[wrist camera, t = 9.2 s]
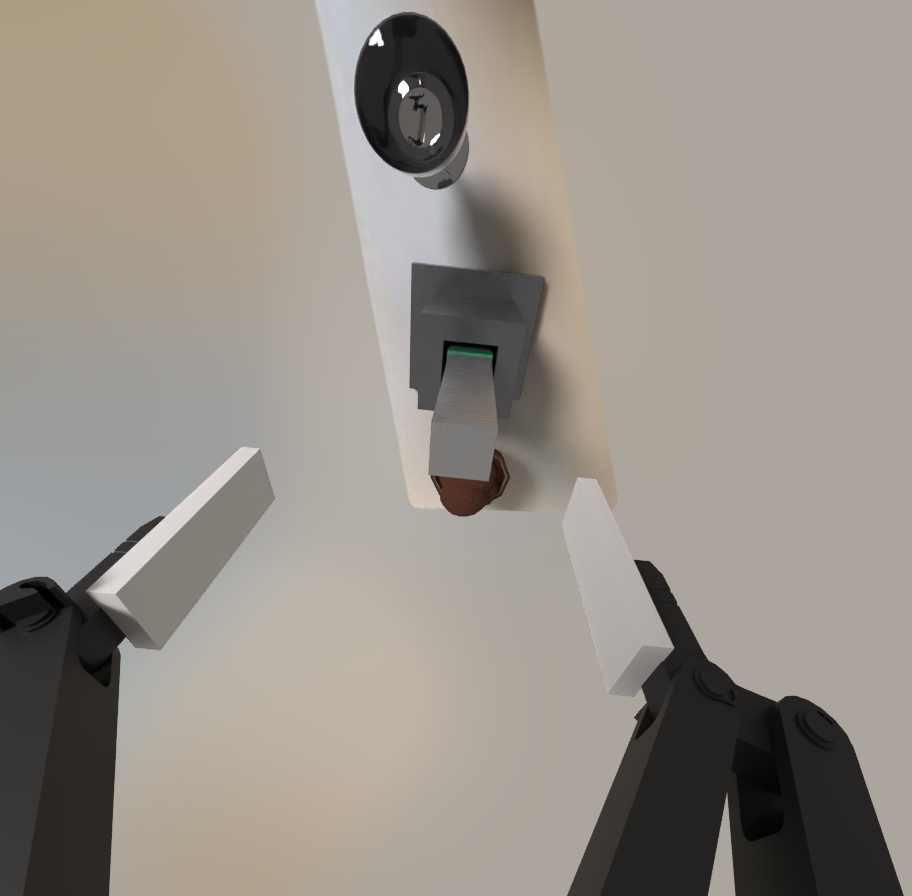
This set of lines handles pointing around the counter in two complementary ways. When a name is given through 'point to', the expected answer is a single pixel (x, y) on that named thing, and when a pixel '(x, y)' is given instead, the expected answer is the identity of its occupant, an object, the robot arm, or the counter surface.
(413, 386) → the stand housing
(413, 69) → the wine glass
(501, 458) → the ice cream bowl
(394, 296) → the counter surface
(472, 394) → the post
